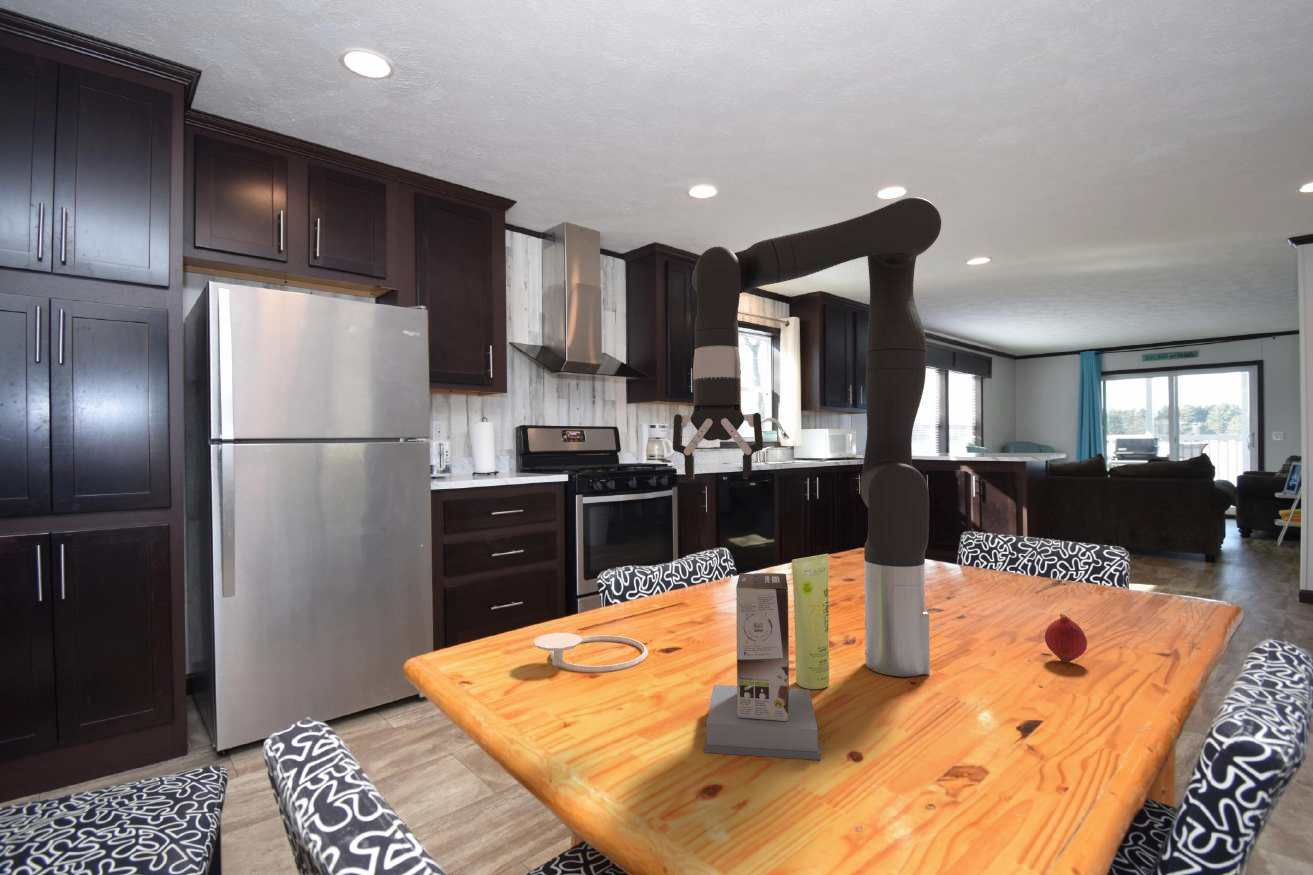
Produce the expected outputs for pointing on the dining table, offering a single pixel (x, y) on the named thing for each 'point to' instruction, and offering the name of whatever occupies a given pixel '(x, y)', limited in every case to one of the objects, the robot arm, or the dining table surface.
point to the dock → (762, 728)
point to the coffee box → (762, 646)
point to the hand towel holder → (569, 641)
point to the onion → (1065, 639)
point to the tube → (811, 620)
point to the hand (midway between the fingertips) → (718, 478)
